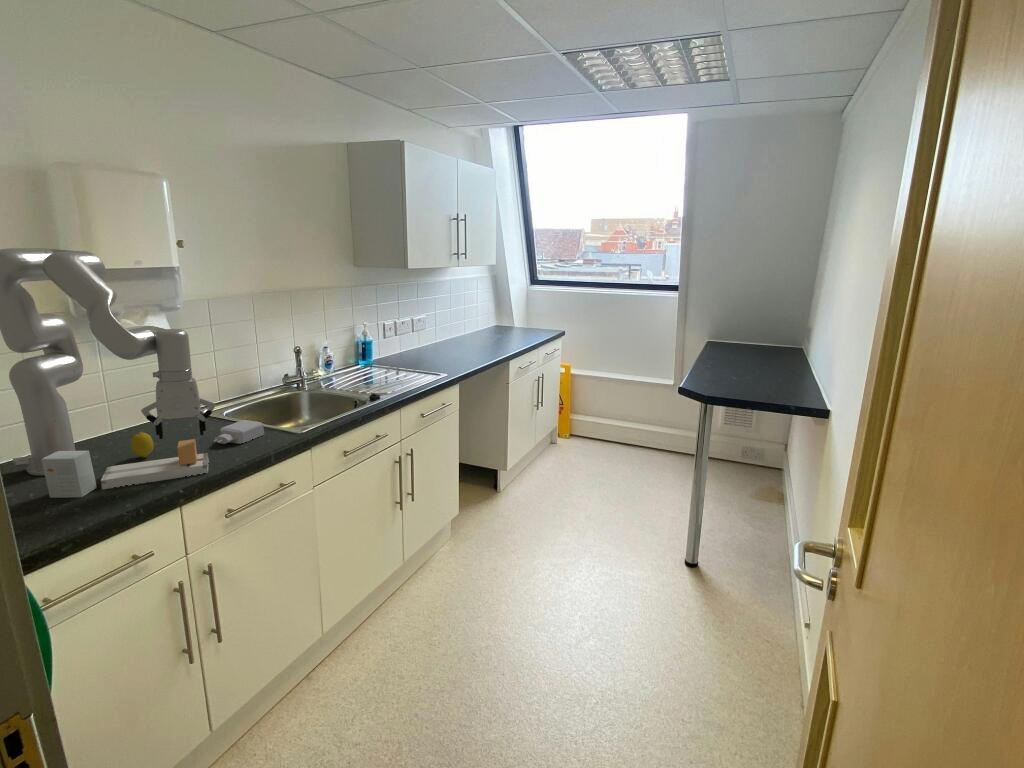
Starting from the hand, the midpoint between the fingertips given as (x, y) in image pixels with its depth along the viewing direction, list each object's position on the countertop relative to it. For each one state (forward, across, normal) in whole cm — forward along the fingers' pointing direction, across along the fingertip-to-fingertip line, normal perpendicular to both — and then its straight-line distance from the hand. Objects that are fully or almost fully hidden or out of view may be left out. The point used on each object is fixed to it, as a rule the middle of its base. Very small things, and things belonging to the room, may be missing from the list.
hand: (182, 435), depth 153 cm
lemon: (+11, -11, +15) cm, 22 cm away
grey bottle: (+10, +13, +20) cm, 26 cm away
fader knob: (+8, +1, -1) cm, 8 cm away
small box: (+11, -24, -5) cm, 27 cm away
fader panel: (+10, -6, -1) cm, 12 cm away
